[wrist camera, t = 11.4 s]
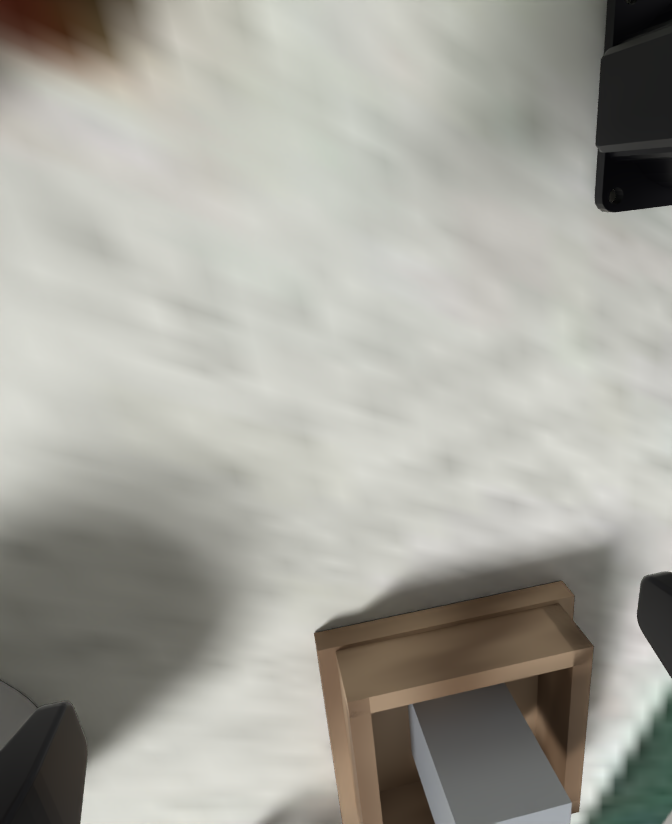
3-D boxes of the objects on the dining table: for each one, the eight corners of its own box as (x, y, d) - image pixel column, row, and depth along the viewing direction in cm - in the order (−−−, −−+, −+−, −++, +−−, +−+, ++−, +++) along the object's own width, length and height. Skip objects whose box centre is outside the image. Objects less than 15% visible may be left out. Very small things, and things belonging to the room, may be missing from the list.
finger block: (495, 666, 25) (571, 802, 19) (495, 739, 27) (565, 883, 21) (406, 687, 24) (458, 832, 19) (412, 760, 26) (462, 913, 21)
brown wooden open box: (562, 580, 25) (656, 691, 20) (548, 807, 31) (618, 942, 25) (313, 633, 24) (340, 767, 18) (348, 859, 29) (376, 1014, 24)
